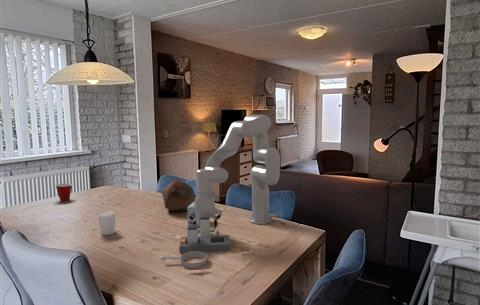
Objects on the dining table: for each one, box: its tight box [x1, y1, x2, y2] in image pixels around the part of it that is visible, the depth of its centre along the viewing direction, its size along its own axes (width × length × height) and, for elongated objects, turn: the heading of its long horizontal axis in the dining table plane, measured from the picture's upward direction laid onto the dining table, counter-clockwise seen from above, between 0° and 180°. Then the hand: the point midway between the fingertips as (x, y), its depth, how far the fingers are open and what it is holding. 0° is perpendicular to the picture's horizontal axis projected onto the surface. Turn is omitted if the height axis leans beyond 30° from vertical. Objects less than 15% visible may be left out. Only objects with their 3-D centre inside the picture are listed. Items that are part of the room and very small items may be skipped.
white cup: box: [98, 211, 116, 236], centre depth 160 cm, size 8×8×10 cm
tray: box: [198, 227, 218, 236], centre depth 153 cm, size 11×11×2 cm
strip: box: [178, 234, 232, 254], centre depth 139 cm, size 22×10×5 cm, turn 96°
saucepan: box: [162, 251, 208, 271], centre depth 125 cm, size 11×18×4 cm, turn 92°
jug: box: [161, 179, 197, 212], centre depth 196 cm, size 20×20×30 cm
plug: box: [200, 217, 211, 236], centre depth 153 cm, size 4×4×10 cm
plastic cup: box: [55, 182, 74, 203], centre depth 221 cm, size 11×11×12 cm
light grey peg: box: [186, 224, 199, 244], centre depth 138 cm, size 4×4×10 cm
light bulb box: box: [186, 202, 201, 227], centre depth 172 cm, size 11×7×11 cm, turn 168°
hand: (205, 228), depth 153 cm, fingers open, 9 cm apart
